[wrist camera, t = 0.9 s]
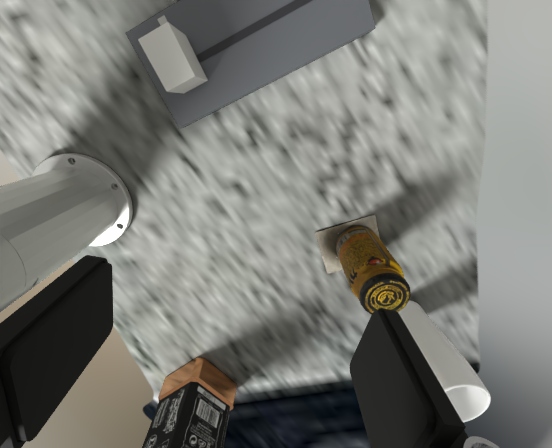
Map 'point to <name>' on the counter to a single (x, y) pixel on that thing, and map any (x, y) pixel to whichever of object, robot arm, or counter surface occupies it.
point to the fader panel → (250, 44)
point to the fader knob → (173, 59)
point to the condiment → (365, 264)
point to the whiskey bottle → (192, 408)
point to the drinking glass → (447, 364)
